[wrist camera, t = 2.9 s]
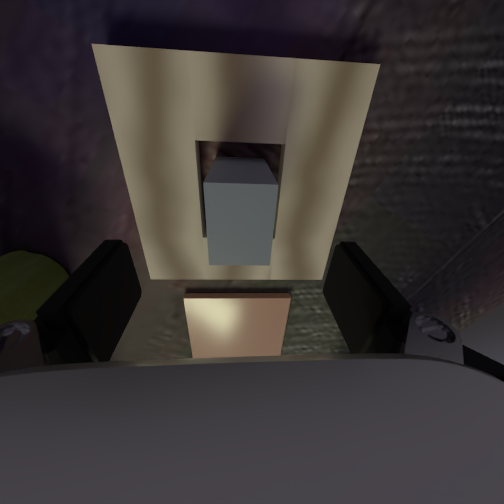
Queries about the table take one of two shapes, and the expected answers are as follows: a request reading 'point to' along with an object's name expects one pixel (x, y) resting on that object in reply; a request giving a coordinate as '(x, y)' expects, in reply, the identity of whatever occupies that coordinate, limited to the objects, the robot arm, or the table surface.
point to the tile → (236, 323)
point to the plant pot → (27, 284)
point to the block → (240, 211)
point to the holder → (233, 130)
